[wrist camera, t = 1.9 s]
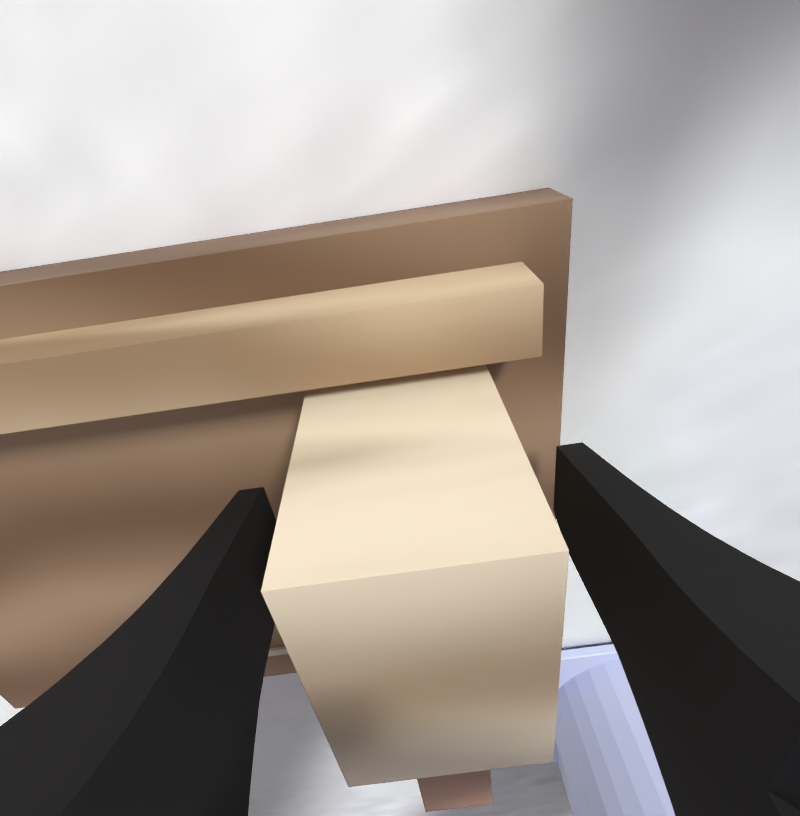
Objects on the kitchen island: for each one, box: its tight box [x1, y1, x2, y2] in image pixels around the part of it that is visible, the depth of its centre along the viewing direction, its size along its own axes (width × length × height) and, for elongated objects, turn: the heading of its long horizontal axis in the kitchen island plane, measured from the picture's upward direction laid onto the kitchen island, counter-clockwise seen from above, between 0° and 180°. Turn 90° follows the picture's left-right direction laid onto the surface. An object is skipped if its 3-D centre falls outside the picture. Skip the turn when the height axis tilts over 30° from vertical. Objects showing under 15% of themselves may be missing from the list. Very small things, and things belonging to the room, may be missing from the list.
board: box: [0, 188, 572, 708], centre depth 14 cm, size 15×20×3 cm
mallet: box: [261, 365, 569, 812], centre depth 12 cm, size 11×4×6 cm, turn 8°
